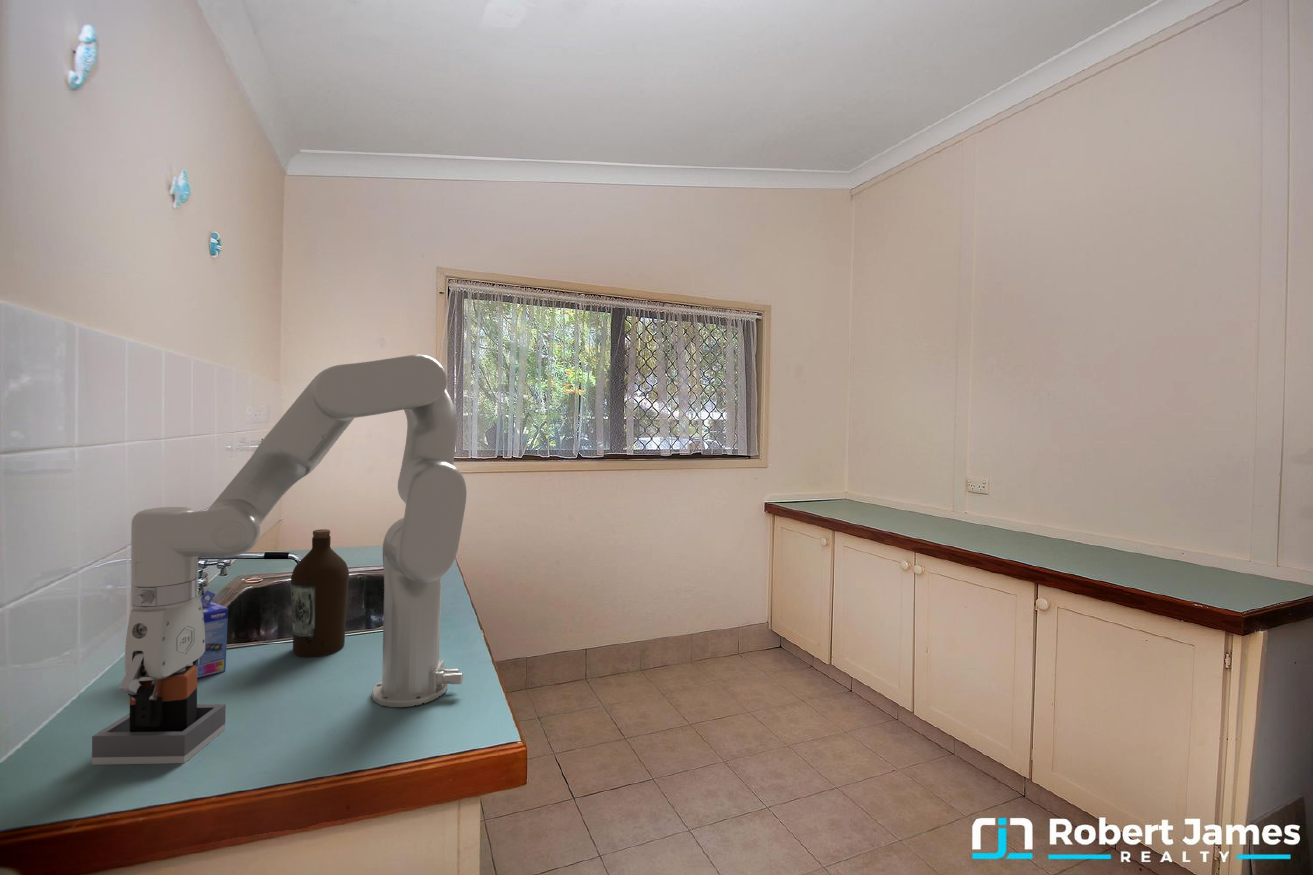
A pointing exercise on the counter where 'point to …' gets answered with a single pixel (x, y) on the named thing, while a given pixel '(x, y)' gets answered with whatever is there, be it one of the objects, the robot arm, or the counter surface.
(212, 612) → the ink cartridge box
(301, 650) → the olive oil
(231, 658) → the counter surface
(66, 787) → the counter surface
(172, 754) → the charging cradle
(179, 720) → the battery
